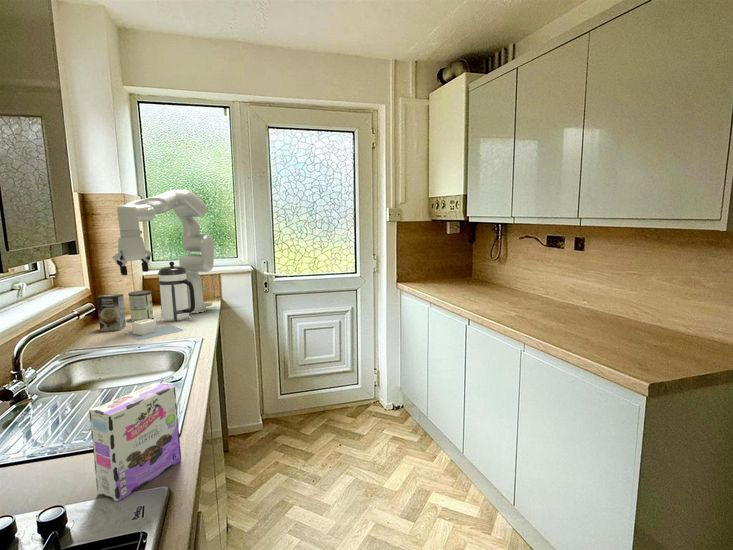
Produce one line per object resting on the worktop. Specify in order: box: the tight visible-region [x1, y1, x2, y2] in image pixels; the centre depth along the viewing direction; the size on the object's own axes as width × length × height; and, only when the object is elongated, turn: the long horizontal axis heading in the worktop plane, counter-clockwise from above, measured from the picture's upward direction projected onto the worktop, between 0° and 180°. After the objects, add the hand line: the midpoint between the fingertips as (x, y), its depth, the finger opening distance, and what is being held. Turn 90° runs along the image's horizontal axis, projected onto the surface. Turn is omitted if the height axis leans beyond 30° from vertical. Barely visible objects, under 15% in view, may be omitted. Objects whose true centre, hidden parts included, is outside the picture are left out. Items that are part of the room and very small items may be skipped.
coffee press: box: [157, 261, 195, 322], centre depth 198 cm, size 17×16×30 cm
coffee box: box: [96, 293, 127, 332], centre depth 187 cm, size 9×6×16 cm
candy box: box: [88, 381, 182, 502], centre depth 77 cm, size 14×6×16 cm, turn 155°
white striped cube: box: [131, 319, 157, 335], centre depth 175 cm, size 6×6×5 cm
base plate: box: [125, 324, 186, 341], centre depth 176 cm, size 19×16×2 cm
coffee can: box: [128, 290, 154, 322], centre depth 205 cm, size 10×10×14 cm
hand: (135, 273), depth 176 cm, fingers open, 9 cm apart
